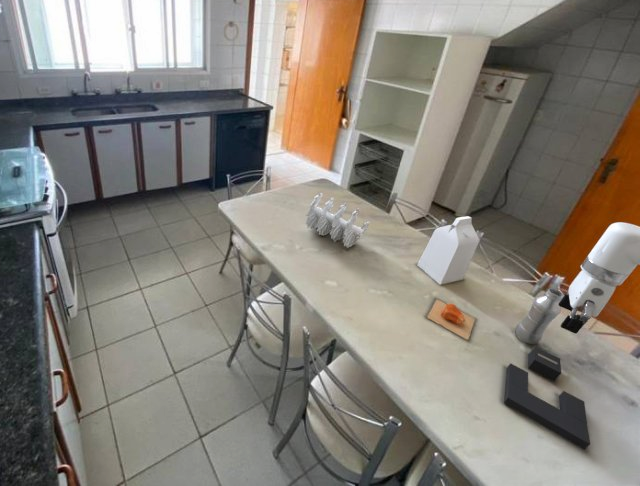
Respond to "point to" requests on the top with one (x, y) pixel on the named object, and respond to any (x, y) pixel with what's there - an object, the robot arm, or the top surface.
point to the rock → (451, 318)
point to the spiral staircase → (334, 222)
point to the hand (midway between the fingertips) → (566, 318)
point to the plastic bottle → (539, 316)
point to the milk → (450, 251)
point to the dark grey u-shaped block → (547, 408)
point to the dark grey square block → (544, 363)
